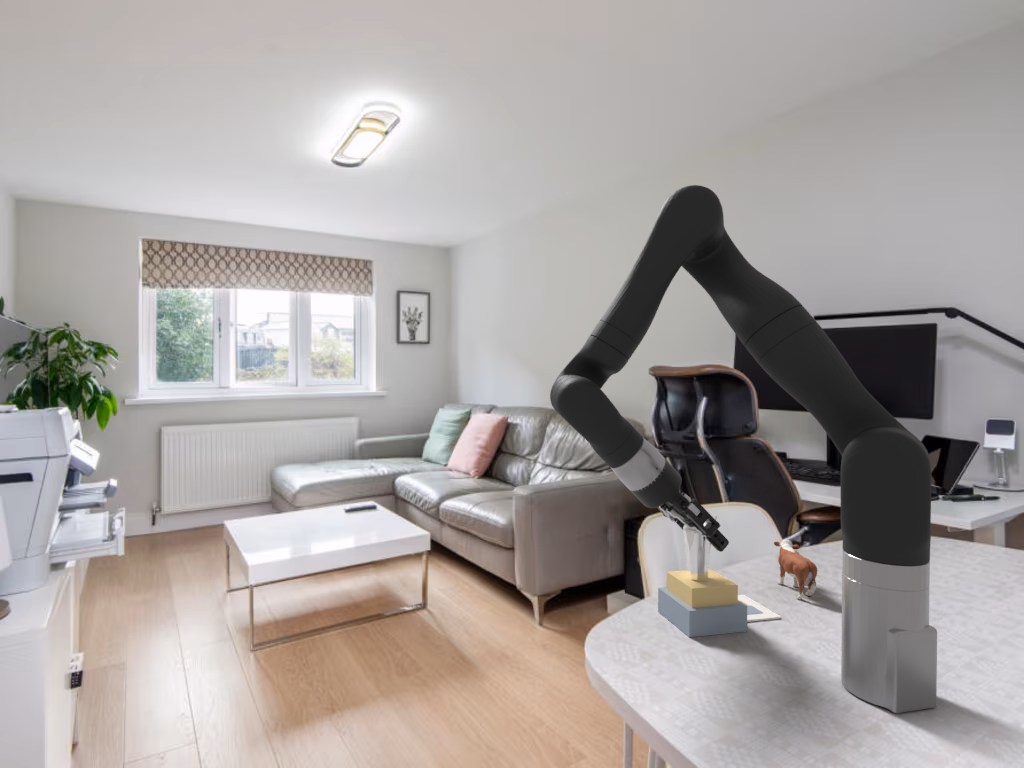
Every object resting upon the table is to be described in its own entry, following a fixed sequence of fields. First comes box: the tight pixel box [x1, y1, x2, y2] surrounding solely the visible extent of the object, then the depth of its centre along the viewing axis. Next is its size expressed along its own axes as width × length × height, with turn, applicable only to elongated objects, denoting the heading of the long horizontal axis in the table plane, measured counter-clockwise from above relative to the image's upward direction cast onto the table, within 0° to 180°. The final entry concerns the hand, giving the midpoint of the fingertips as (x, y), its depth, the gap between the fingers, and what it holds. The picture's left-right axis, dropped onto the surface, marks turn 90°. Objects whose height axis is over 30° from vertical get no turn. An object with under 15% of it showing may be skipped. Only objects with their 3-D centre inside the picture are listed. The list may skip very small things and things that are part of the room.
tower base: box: [657, 568, 748, 638], centre depth 93 cm, size 10×10×7 cm
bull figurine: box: [773, 538, 818, 601], centre depth 108 cm, size 4×13×8 cm, turn 174°
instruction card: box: [738, 594, 782, 623], centre depth 98 cm, size 10×7×1 cm
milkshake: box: [683, 516, 718, 581], centre depth 93 cm, size 5×5×10 cm
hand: (708, 539), depth 93 cm, fingers open, 8 cm apart
